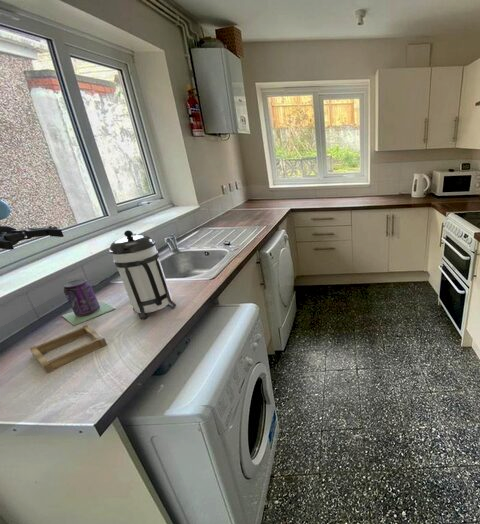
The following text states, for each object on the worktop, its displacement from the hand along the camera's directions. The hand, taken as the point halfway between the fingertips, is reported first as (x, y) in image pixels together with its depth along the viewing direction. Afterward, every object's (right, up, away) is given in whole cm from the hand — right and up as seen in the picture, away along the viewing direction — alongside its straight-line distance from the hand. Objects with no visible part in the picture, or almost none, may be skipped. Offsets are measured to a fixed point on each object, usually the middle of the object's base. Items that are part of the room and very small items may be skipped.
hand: (37, 238), depth 97 cm
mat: (+10, -27, +8) cm, 30 cm away
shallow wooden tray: (+23, -34, -12) cm, 43 cm away
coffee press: (+36, -25, +8) cm, 44 cm away
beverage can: (+10, -26, +8) cm, 29 cm away
